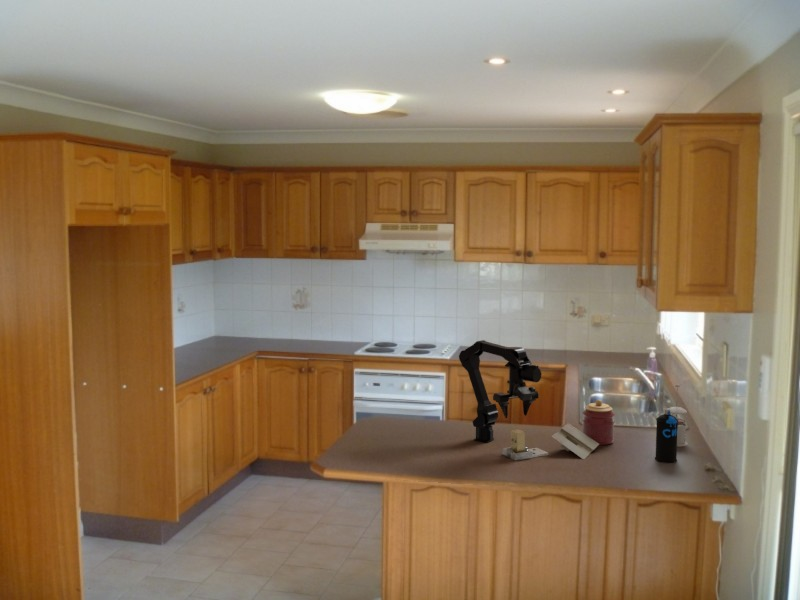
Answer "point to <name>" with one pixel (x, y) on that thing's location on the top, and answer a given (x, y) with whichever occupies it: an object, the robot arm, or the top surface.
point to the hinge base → (524, 453)
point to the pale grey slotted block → (575, 441)
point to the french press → (680, 423)
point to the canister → (599, 422)
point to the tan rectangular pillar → (518, 441)
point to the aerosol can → (666, 438)
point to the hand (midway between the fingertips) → (515, 416)
